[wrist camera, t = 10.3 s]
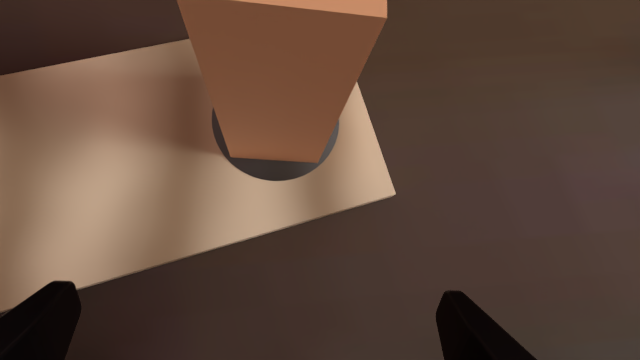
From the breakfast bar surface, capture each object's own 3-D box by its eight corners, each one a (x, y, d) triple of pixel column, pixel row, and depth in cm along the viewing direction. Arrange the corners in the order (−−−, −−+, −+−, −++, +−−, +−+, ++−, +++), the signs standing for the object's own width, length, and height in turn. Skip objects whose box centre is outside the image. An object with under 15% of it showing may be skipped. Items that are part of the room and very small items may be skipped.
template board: (-504, 462, 13) (-555, 475, 12) (-487, 183, 15) (-531, 178, 14) (390, 197, 19) (396, 193, 18) (330, 20, 21) (332, 10, 20)
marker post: (317, 163, 18) (386, 17, 8) (230, 157, 18) (174, -7, 7) (320, 84, 19) (386, -145, 8) (237, 77, 19) (196, -176, 8)
